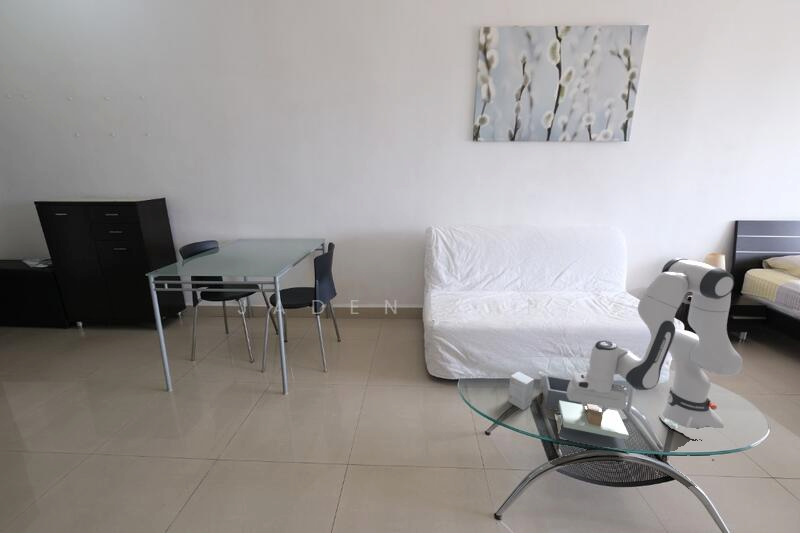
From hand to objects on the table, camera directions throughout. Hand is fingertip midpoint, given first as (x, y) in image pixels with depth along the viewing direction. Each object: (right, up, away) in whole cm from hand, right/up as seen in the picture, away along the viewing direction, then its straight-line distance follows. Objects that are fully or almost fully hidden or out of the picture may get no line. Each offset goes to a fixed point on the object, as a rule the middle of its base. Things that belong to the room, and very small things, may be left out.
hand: (592, 412), depth 138 cm
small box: (-22, -4, +19) cm, 30 cm away
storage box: (0, -4, +20) cm, 20 cm away
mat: (0, -9, +3) cm, 9 cm away
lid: (0, -4, +1) cm, 4 cm away
